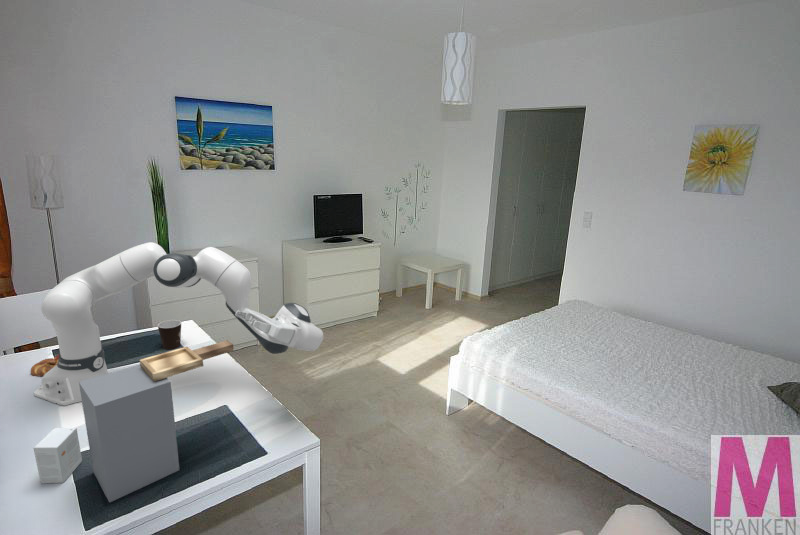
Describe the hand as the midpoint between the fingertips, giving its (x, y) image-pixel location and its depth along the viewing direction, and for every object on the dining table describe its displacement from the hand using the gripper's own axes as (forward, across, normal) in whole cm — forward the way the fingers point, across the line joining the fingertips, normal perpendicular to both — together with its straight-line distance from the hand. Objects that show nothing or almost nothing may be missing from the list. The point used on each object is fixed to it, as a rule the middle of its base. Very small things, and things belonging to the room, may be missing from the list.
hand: (244, 318), depth 129 cm
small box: (+22, -12, +53) cm, 58 cm away
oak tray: (+10, 0, +15) cm, 18 cm away
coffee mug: (-20, -69, +28) cm, 77 cm away
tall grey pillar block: (+10, 0, +46) cm, 47 cm away
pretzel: (+14, -76, +48) cm, 91 cm away
